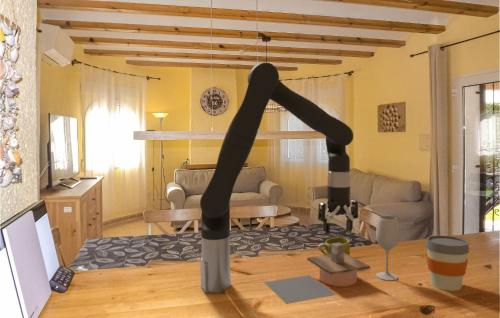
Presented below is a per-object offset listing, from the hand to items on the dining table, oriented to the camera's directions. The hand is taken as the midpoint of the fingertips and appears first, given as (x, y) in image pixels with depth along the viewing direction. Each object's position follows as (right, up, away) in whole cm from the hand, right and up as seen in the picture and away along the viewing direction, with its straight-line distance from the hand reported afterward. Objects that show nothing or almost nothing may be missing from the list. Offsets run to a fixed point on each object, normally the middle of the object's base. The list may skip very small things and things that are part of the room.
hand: (338, 232), depth 128 cm
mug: (+3, -16, +22) cm, 27 cm away
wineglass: (+18, -17, +5) cm, 25 cm away
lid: (0, -11, +1) cm, 11 cm away
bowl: (0, -17, +1) cm, 17 cm away
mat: (-14, -18, -6) cm, 23 cm away
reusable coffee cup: (+35, -17, -3) cm, 39 cm away
